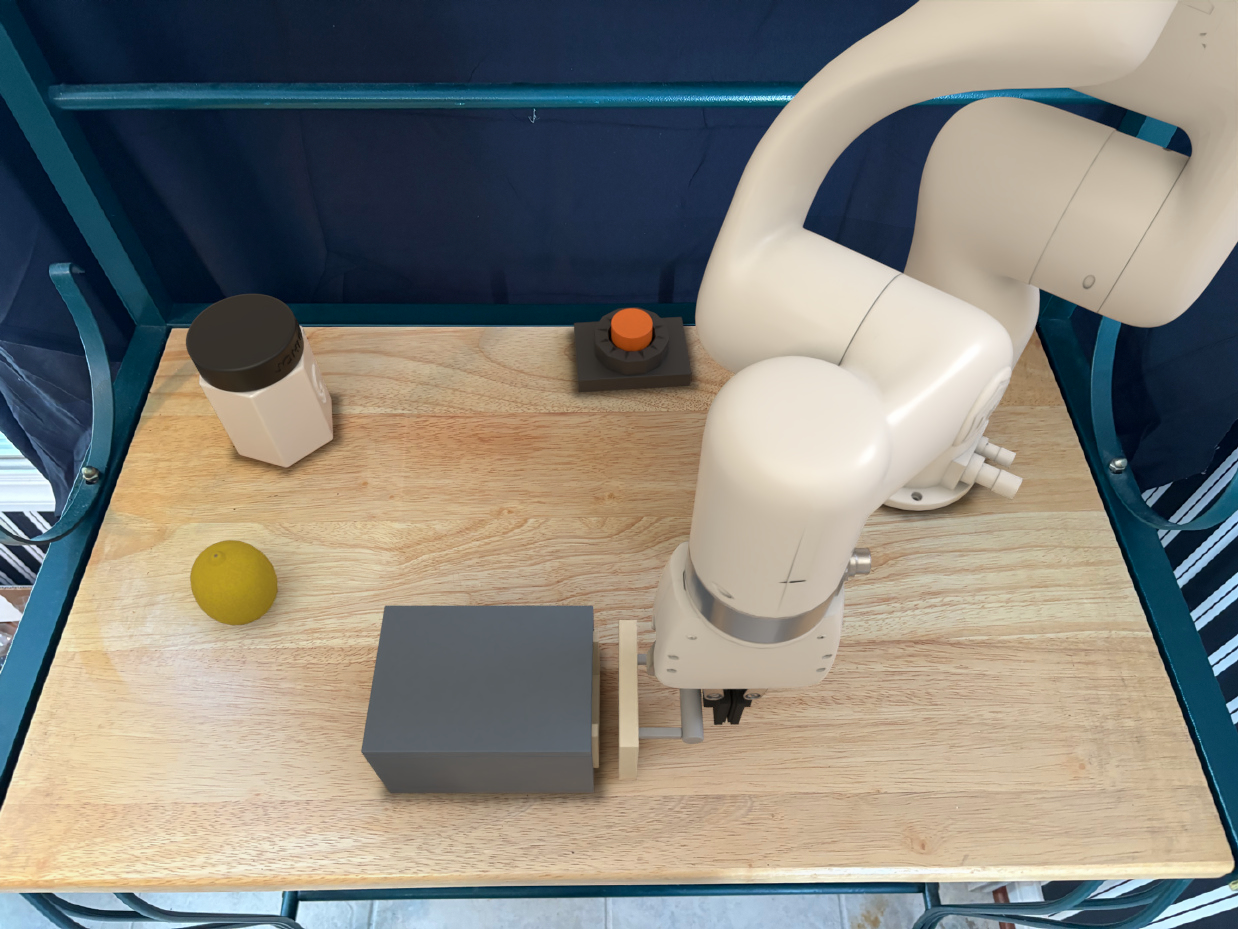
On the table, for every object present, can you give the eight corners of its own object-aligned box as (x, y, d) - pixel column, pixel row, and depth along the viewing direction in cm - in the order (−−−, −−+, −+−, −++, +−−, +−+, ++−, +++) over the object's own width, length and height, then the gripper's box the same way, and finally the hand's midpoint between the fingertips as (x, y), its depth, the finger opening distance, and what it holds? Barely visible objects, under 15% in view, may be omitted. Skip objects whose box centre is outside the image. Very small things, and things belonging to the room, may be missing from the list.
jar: (337, 460, 76) (297, 365, 67) (237, 477, 75) (181, 383, 65) (333, 381, 81) (295, 281, 72) (239, 396, 80) (187, 297, 71)
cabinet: (595, 658, 66) (593, 605, 59) (593, 793, 61) (591, 752, 54) (408, 658, 66) (384, 605, 59) (389, 793, 61) (360, 752, 54)
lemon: (272, 648, 67) (235, 598, 60) (202, 634, 67) (157, 583, 61) (302, 583, 70) (270, 528, 63) (235, 570, 70) (196, 514, 64)
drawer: (693, 661, 65) (700, 619, 60) (699, 780, 60) (708, 746, 55) (460, 661, 65) (446, 619, 60) (448, 780, 60) (431, 747, 55)
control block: (680, 329, 85) (683, 302, 82) (690, 386, 81) (693, 359, 78) (574, 335, 85) (572, 308, 82) (578, 393, 81) (577, 366, 78)
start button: (649, 320, 82) (650, 306, 80) (653, 350, 80) (654, 336, 78) (609, 323, 81) (609, 309, 80) (612, 352, 79) (612, 339, 78)
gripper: (897, 502, 47) (828, 649, 62) (610, 503, 47) (610, 650, 62) (927, 635, 43) (845, 758, 58) (611, 637, 43) (611, 760, 58)
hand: (724, 702), depth 60 cm, fingers closed
